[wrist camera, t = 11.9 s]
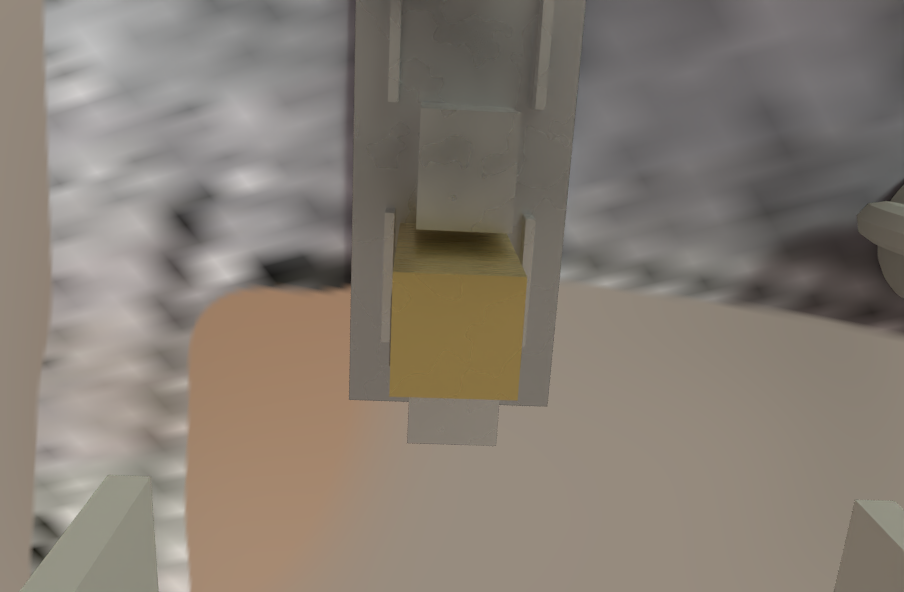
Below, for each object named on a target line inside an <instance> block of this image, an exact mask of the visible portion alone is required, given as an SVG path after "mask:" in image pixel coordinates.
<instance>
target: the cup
mask: <svg viewBox="0 0 904 592" xmlns="http://www.w3.org/2000/svg"><path fill="white" fill-rule="evenodd" d="M857 223H858V231H859V233H860V234H861V235H863V236H864V237H866V238H867V239H868V240H870V241H871V242H872V243H874V244H876V245H878V260H879V264H880V267H881V270H882V273H883V276H884V278H885V279H886V281H887V282H888V284H889V285H890V286H891V288H892V289H893V291H894V292H895V293H896V294H898V295H899V296H900V297H902V298H903V299H904V185H903V186H902V187H901V188H900V189H899V191H898V192H897V193H896V194H895V195H894V197H893V198H892V199H891V201H890V202H889V201H883V202H875V203H868V204H867V205H866V206H865V207H864V208H863V209H862V211H861V212H860V213H859V214H858V215H857Z"/></svg>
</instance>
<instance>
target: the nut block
mask: <svg viewBox="0 0 904 592" xmlns="http://www.w3.org/2000/svg"><path fill="white" fill-rule="evenodd" d="M526 288H527V275H526V273H525V271H524V269H523V267H522V265H521V263H520V260H519V258H518V256H517V254H516V252H515V250H514V248H513V246H512V243H511V241H510V239H509V237H508V235H507V233H486V232H464V231H441V230H419V229H416V223H400V227H399V233H398V240H397V247H396V253H395V260H394V267H393V280H392V293H391V308H390V346H389V366H390V390H389V397H417V398H450V399H483V400H516V401H518V390H519V377H520V367H521V354H522V341H523V328H524V316H525V301H526Z"/></svg>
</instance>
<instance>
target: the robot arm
mask: <svg viewBox="0 0 904 592" xmlns="http://www.w3.org/2000/svg"><path fill="white" fill-rule="evenodd" d="M19 592H158V578H157V563H156V548H155V533H154V519H153V504H152V489H151V477H148V476H117V475H108V476H107V477H106V478H105V480H104V481H103V482H102V484H101V485H100V486H99V488H98V489H97V490H96V491H95V493H94V494H93V495H92V497H91V498H90V499H89V501H88V502H87V503H86V505H85V506H84V507H83V509H82V510H81V511H80V512H79V514H78V515H77V516H76V518H75V519H74V520H73V522H72V523H71V524H70V526H69V527H68V528H67V530H66V531H65V532H64V534H63V535H62V536H61V537H60V539H59V540H58V541H57V543H56V544H55V545H54V547H53V548H52V549H51V551H50V552H49V553H48V555H47V556H46V557H45V558H44V560H43V561H42V562H41V564H40V565H39V566H38V568H37V569H36V570H35V572H34V573H33V574H32V576H31V577H30V578H29V580H28V581H27V582H26V584H25V585H24V586H23V587H22V589H21V590H20V591H19ZM834 592H904V509H902V507H900V506H899V505H898V504H897V503H896V502H895V501H883V500H855V502H854V506H853V511H852V515H851V520H850V524H849V528H848V532H847V537H846V541H845V545H844V550H843V554H842V558H841V562H840V567H839V571H838V575H837V580H836V584H835V589H834Z"/></svg>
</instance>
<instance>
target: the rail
mask: <svg viewBox="0 0 904 592" xmlns="http://www.w3.org/2000/svg"><path fill="white" fill-rule="evenodd" d="M585 6H586V0H356V18H355V78H354V139H353V200H352V260H351V321H350V382H349V386H350V387H349V399H350V400H373V401H402V402H409V413H408V414H409V415H408V437H407V443H420V444H451V445H453V444H454V445H483V446H484V445H486V446H496V439H497V426H498V413H499V405H518V406H521V405H522V406H547V404H548V394H549V383H550V372H551V361H552V352H553V341H554V331H555V319H556V310H557V298H558V288H559V278H560V268H561V257H562V247H563V237H564V226H565V216H566V205H567V195H568V184H569V174H570V163H571V153H572V142H573V132H574V121H575V111H576V100H577V90H578V79H579V69H580V58H581V48H582V37H583V27H584V16H585ZM400 223H416V229H419V230H441V231H464V232H486V233H507V235H508V237H509V239H510V241H511V243H512V246H513V248H514V250H515V252H516V254H517V256H518V258H519V260H520V263H521V265H522V267H523V269H524V271H525V273H526V275H527V288H526V301H525V316H524V328H523V341H522V354H521V367H520V377H519V390H518V401H516V400H483V399H450V398H417V397H389V390H390V366H389V346H390V308H391V293H392V280H393V267H394V260H395V253H396V247H397V240H398V233H399V227H400Z"/></svg>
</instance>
